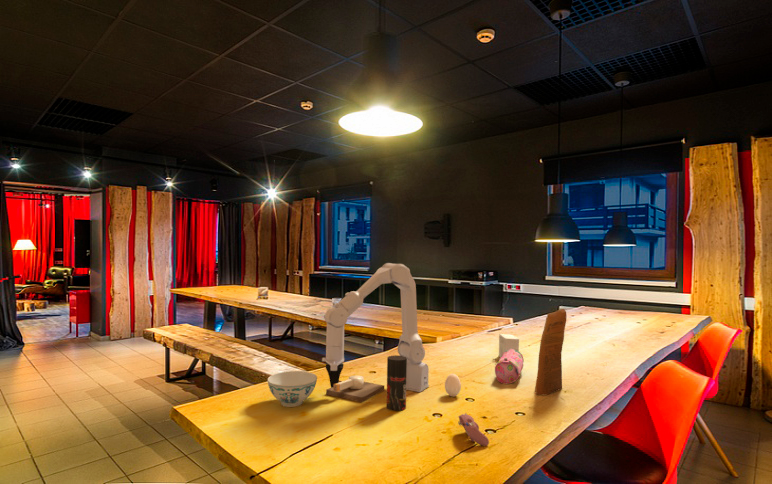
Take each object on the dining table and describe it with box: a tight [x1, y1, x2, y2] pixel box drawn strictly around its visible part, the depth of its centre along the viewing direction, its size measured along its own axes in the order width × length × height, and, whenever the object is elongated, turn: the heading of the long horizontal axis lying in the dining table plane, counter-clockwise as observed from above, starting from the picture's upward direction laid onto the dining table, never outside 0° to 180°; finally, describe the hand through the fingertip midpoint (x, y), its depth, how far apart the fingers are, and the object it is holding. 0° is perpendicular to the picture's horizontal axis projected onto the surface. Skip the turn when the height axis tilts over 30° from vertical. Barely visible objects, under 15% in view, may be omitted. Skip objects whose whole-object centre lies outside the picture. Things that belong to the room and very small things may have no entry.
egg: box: [444, 373, 462, 397], centre depth 142 cm, size 5×5×7 cm
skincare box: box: [498, 333, 520, 359], centre depth 192 cm, size 10×6×10 cm, turn 179°
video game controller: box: [457, 412, 490, 447], centre depth 110 cm, size 10×5×7 cm, turn 5°
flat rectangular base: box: [325, 381, 385, 403], centre depth 144 cm, size 14×14×2 cm
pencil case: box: [494, 349, 525, 385], centre depth 166 cm, size 21×9×9 cm, turn 156°
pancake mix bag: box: [534, 308, 567, 396], centre depth 150 cm, size 7×19×28 cm, turn 133°
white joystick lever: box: [333, 375, 365, 392], centre depth 141 cm, size 12×5×3 cm, turn 143°
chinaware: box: [267, 370, 318, 408], centre depth 133 cm, size 15×15×8 cm
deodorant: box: [386, 354, 407, 412], centre depth 131 cm, size 6×6×15 cm
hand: (334, 387), depth 139 cm, fingers closed
